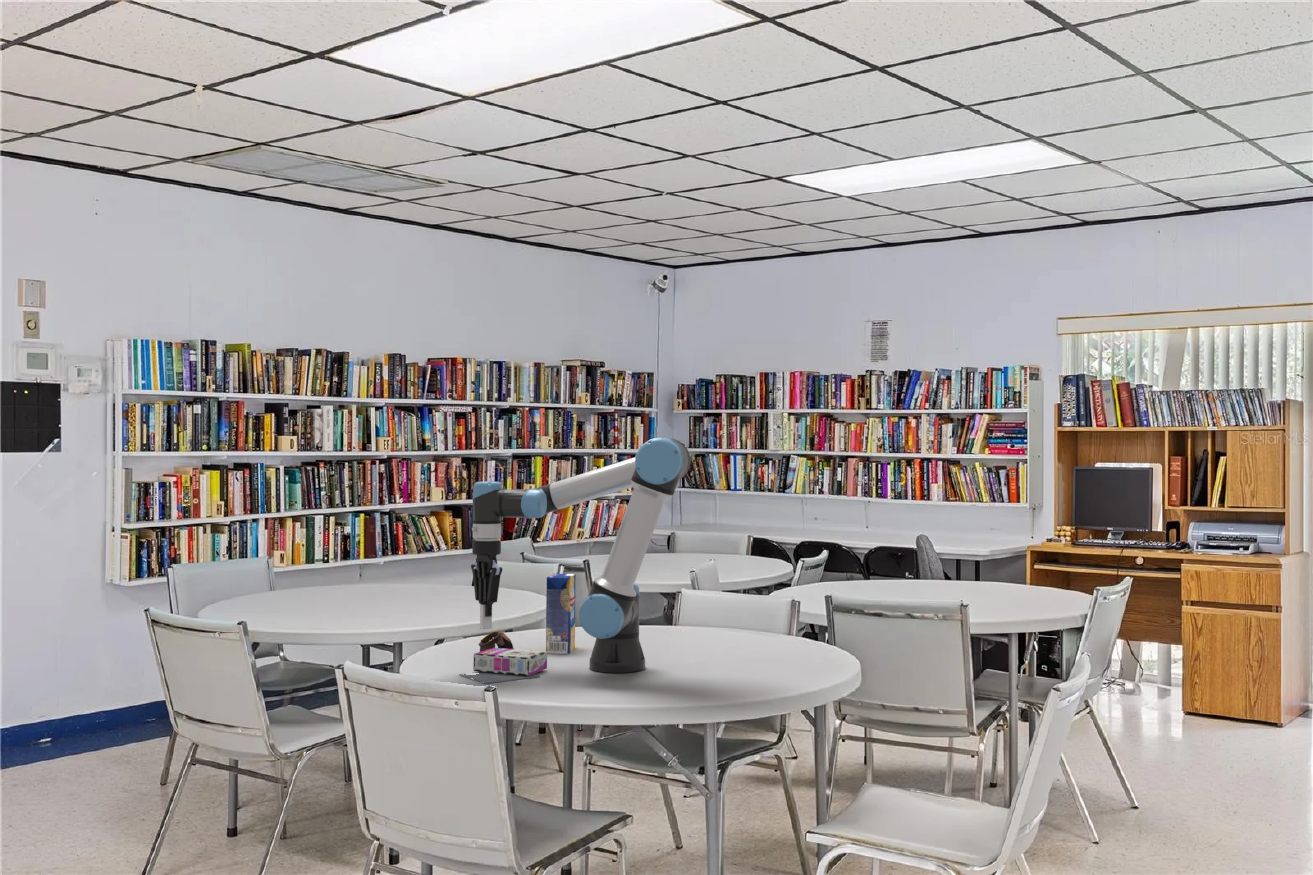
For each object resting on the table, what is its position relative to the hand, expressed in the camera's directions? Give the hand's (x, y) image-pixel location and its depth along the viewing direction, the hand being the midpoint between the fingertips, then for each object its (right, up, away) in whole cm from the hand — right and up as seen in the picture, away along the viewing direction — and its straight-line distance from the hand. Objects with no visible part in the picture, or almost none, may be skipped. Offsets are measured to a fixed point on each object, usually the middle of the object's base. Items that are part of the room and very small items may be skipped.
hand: (485, 628), depth 301 cm
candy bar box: (-1, -9, +3) cm, 9 cm away
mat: (+5, -11, -6) cm, 14 cm away
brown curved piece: (0, -12, +24) cm, 27 cm away
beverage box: (+17, -12, +34) cm, 40 cm away
